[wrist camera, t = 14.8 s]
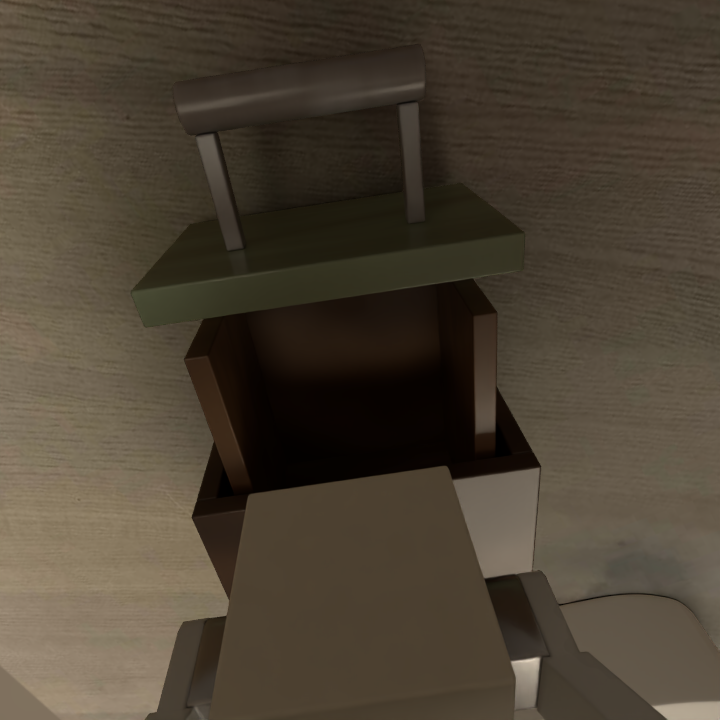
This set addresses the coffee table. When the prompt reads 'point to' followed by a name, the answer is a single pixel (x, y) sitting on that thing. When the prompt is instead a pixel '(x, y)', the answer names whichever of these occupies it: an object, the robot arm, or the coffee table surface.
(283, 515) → the block
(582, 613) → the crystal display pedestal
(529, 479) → the cabinet
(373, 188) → the coffee table surface
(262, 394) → the drawer
